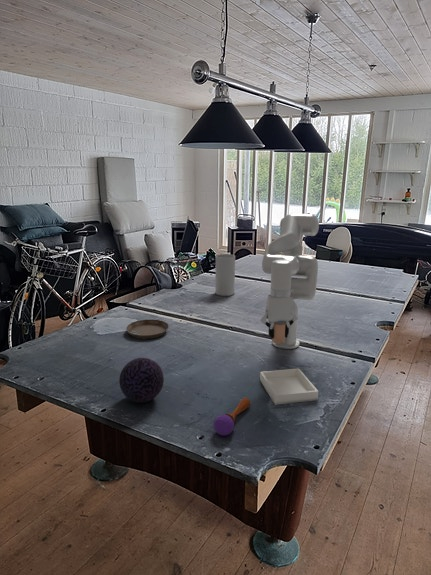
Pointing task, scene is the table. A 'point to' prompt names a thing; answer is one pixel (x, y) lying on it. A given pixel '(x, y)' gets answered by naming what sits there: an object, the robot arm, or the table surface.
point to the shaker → (279, 332)
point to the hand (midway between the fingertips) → (278, 336)
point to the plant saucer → (147, 328)
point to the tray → (288, 386)
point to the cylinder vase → (225, 274)
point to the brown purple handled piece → (229, 418)
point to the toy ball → (141, 380)
